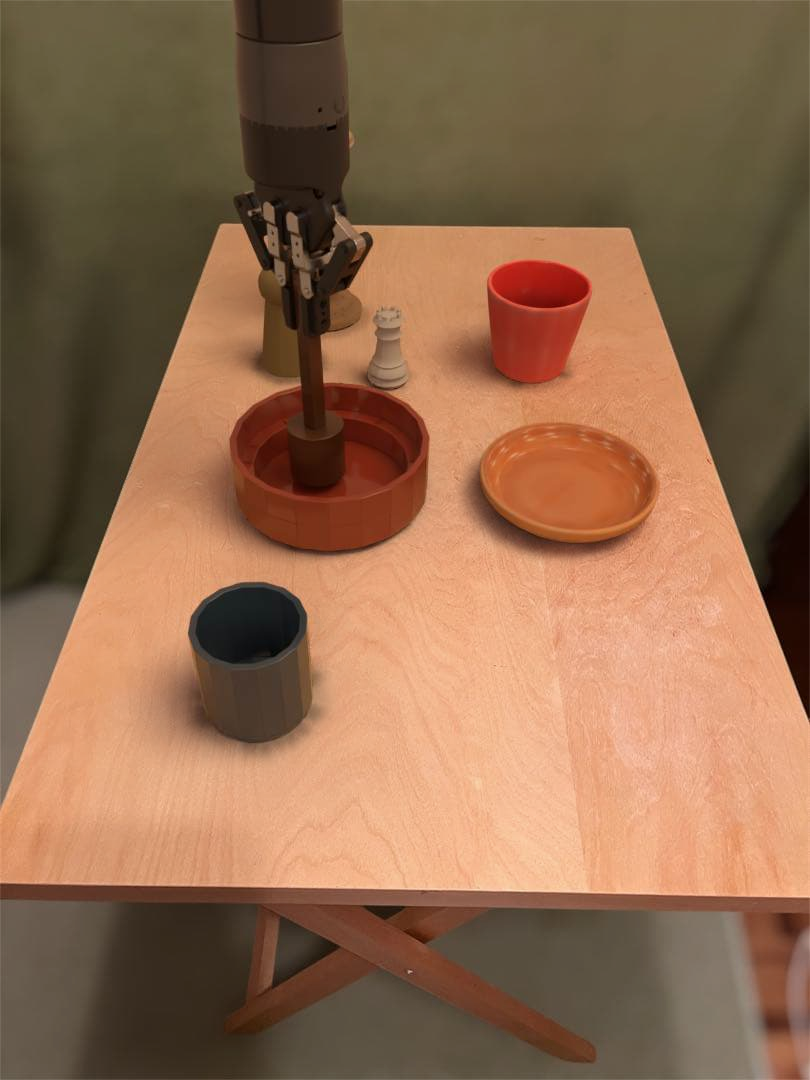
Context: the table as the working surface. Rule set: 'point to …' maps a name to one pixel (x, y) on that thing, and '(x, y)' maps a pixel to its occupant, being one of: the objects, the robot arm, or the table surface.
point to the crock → (252, 660)
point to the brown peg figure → (277, 331)
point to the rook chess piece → (388, 351)
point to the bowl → (359, 496)
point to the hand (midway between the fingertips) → (307, 329)
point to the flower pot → (535, 317)
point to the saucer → (568, 481)
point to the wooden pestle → (313, 416)
